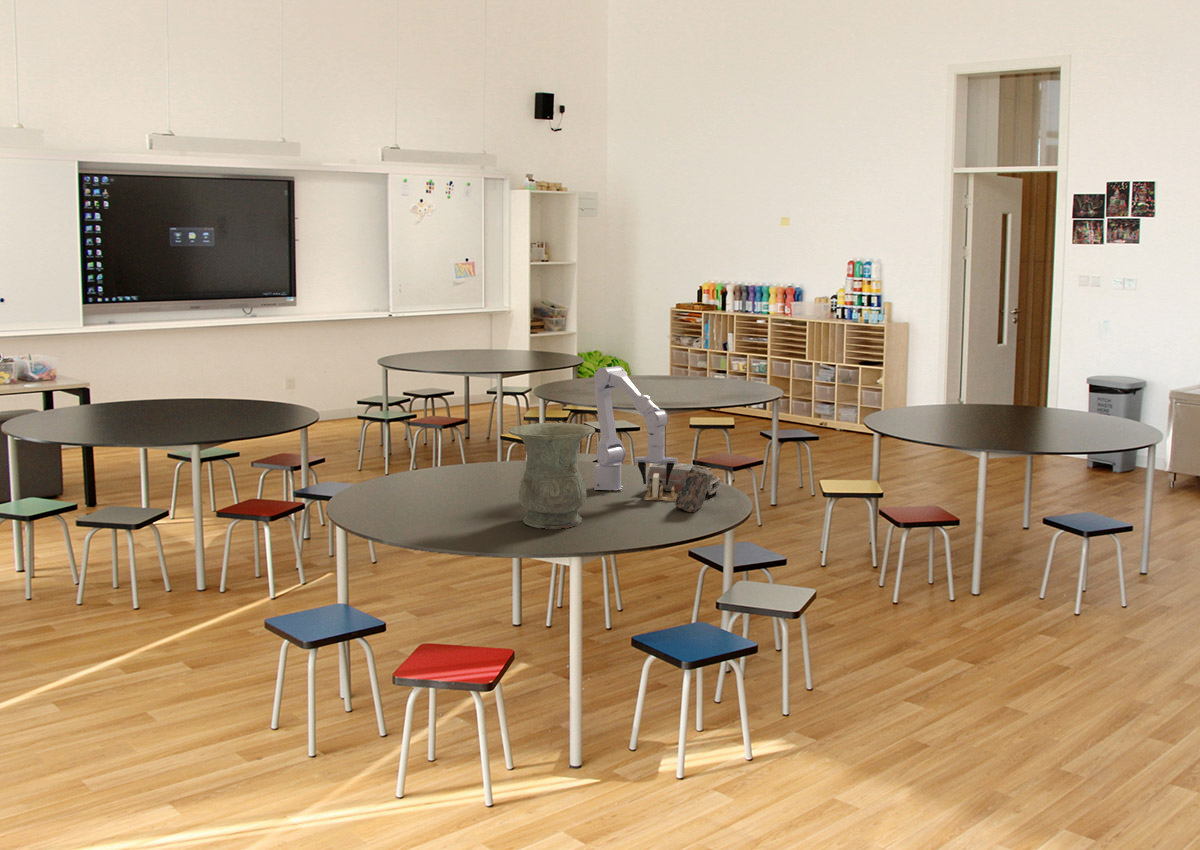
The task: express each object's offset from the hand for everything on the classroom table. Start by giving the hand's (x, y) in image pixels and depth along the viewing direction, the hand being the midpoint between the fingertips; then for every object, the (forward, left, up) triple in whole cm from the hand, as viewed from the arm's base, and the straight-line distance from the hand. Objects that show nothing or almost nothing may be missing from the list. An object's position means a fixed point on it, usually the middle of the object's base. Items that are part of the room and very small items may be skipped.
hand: (655, 484), depth 388 cm
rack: (+2, 0, -5) cm, 5 cm away
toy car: (+9, +10, -5) cm, 14 cm away
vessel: (-30, -39, -5) cm, 49 cm away
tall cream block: (0, 0, -4) cm, 4 cm away
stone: (+13, -15, -5) cm, 21 cm away
